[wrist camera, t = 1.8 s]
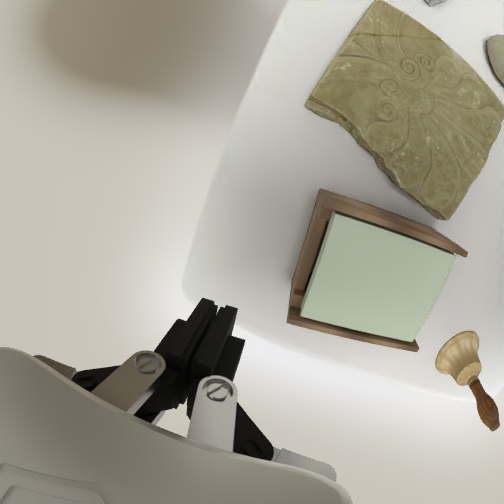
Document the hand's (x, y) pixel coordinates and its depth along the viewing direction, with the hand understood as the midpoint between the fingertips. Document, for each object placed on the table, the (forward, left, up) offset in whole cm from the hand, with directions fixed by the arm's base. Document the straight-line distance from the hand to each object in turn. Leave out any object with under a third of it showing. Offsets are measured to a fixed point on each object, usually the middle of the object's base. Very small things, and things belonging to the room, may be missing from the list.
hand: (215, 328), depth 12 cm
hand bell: (-33, +10, -19) cm, 39 cm away
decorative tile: (-12, -18, -19) cm, 29 cm away
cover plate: (-11, 0, -12) cm, 17 cm away
